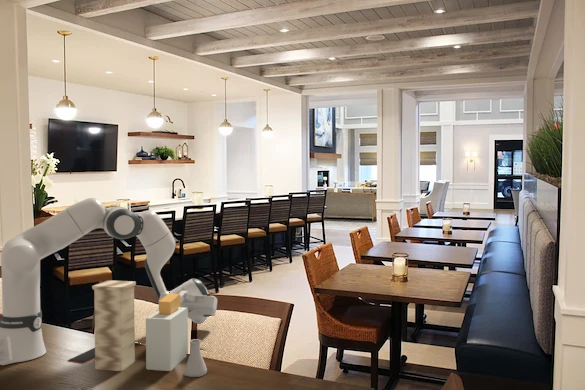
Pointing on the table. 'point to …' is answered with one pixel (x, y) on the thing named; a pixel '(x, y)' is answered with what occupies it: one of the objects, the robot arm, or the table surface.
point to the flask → (195, 361)
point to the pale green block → (166, 339)
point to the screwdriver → (171, 302)
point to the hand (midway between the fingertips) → (181, 295)
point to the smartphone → (83, 357)
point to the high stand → (114, 325)
